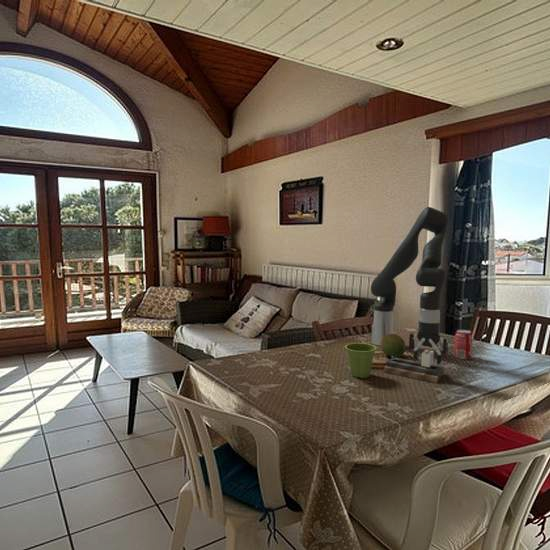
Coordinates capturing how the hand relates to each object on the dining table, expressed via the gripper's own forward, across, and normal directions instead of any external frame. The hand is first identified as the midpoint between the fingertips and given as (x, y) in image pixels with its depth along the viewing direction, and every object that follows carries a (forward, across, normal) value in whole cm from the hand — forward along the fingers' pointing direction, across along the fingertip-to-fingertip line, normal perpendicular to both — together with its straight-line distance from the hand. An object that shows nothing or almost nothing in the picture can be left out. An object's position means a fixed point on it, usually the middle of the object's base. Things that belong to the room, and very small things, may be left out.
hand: (427, 361), depth 152 cm
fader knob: (+3, 0, 0) cm, 3 cm away
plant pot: (+6, -21, -15) cm, 26 cm away
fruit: (+6, -19, +16) cm, 25 cm away
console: (+5, -5, 0) cm, 7 cm away
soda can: (+6, +6, +33) cm, 34 cm away
